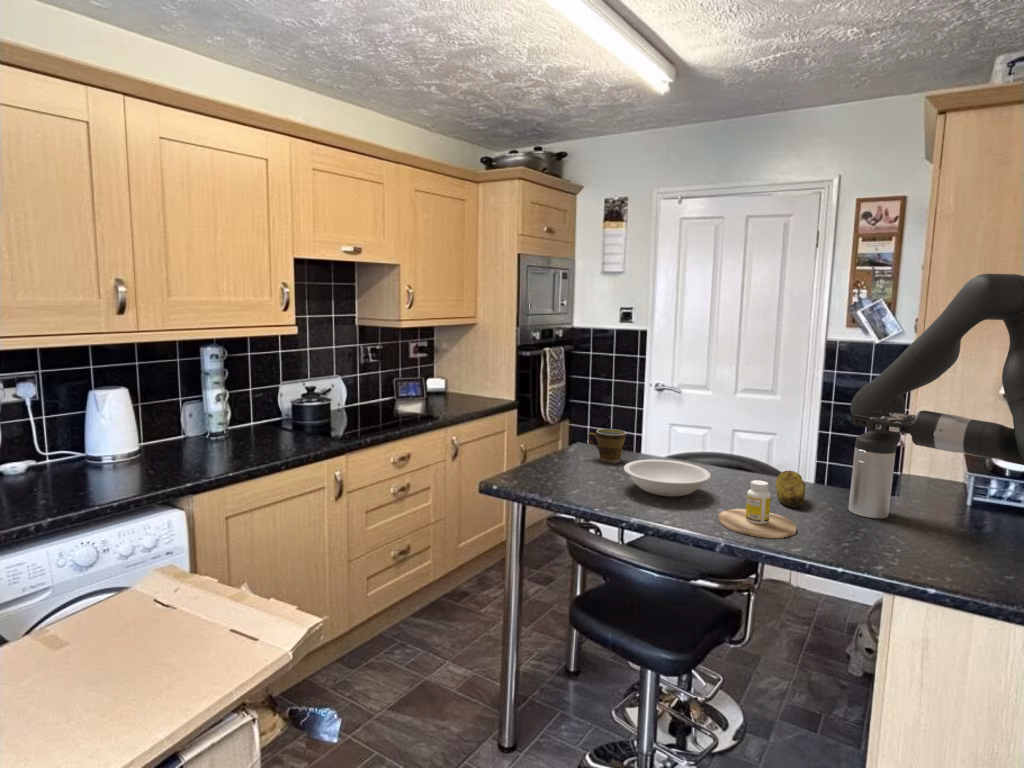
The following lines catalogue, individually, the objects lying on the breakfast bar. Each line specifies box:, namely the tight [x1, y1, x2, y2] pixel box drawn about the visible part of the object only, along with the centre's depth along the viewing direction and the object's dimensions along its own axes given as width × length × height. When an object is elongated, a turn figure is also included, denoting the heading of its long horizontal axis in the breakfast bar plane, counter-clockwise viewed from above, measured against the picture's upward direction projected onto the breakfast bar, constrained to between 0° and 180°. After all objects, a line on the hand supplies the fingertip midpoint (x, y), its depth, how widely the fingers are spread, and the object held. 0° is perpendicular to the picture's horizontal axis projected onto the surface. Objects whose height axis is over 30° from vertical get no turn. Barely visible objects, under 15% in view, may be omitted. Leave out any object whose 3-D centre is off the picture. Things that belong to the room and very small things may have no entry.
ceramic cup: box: [586, 428, 627, 464], centre depth 209 cm, size 13×10×10 cm
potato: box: [775, 470, 806, 508], centre depth 170 cm, size 8×13×8 cm, turn 148°
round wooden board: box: [717, 508, 797, 539], centre depth 153 cm, size 18×18×1 cm
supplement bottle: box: [745, 479, 772, 524], centre depth 152 cm, size 5×5×10 cm
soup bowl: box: [623, 459, 712, 497], centre depth 176 cm, size 24×24×7 cm
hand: (860, 417), depth 140 cm, fingers open, 8 cm apart
